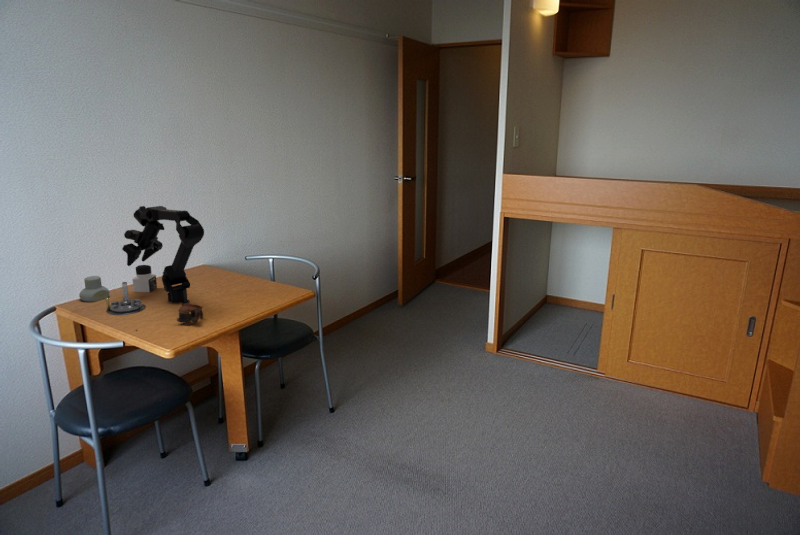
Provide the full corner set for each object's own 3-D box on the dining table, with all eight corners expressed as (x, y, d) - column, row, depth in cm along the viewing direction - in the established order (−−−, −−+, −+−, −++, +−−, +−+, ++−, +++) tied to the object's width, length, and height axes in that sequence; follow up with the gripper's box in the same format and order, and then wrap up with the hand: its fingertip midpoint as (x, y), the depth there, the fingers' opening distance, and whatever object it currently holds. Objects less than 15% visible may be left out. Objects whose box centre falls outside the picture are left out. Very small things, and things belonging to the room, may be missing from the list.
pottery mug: (170, 324, 208) (175, 302, 210) (193, 329, 215) (197, 308, 217) (187, 323, 200) (192, 301, 202) (210, 328, 207) (214, 307, 209)
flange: (153, 306, 224) (151, 292, 223) (133, 319, 211) (132, 303, 209) (119, 305, 226) (117, 290, 224) (97, 317, 212) (95, 301, 210)
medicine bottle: (150, 294, 239) (147, 268, 236) (133, 294, 239) (130, 267, 236) (157, 289, 246) (154, 263, 242) (141, 289, 246) (138, 263, 243)
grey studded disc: (141, 310, 215) (139, 290, 213) (110, 314, 211) (107, 294, 209) (141, 299, 228) (139, 280, 226) (111, 302, 223) (109, 283, 221)
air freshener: (101, 295, 237) (98, 273, 234) (113, 299, 233) (111, 276, 230) (76, 302, 227) (73, 279, 225) (89, 306, 224) (85, 282, 221)
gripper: (148, 219, 239) (134, 248, 244) (119, 225, 221) (104, 257, 226) (169, 233, 239) (155, 262, 243) (141, 240, 221) (126, 272, 225)
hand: (135, 263), depth 234 cm, fingers open, 9 cm apart
